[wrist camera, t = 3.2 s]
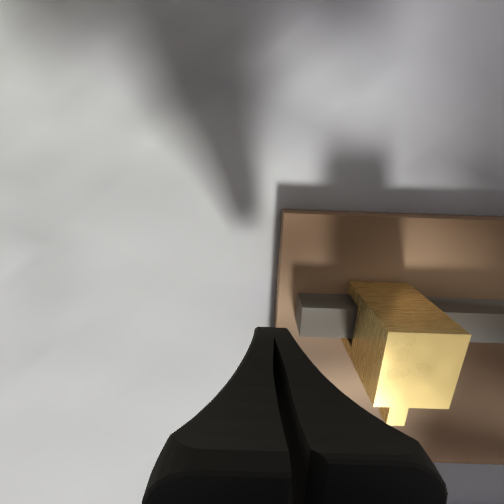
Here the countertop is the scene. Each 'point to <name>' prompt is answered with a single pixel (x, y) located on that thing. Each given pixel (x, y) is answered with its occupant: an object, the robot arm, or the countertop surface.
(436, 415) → the board
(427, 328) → the leg
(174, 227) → the countertop surface
